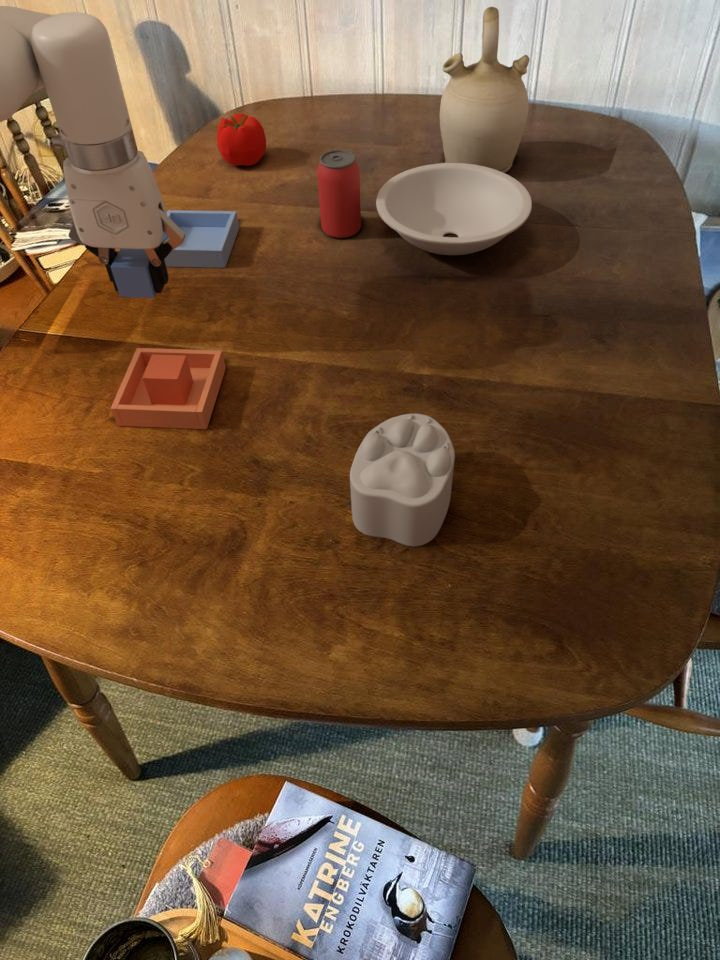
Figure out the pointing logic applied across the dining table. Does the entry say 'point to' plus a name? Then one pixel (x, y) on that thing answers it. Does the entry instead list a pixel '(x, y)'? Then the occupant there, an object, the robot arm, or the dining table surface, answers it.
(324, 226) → the beer can
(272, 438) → the dining table surface
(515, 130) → the jug
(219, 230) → the blue tray
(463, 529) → the dining table surface
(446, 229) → the vessel sink basin
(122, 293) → the blue block
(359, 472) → the lumpy-topped squat cylinder
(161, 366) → the terracotta block
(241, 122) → the tomato
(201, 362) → the terracotta tray
